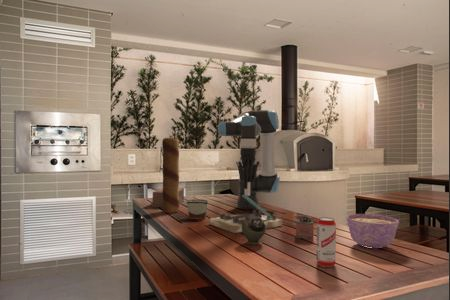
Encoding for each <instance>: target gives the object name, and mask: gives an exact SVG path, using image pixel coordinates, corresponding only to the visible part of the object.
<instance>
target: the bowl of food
mask: <svg viewBox="0 0 450 300" xmlns="http://www.w3.org/2000/svg"><path fill="white" fill-rule="evenodd" d="M346 221H347V226H348V231H349V235H350V237H351V239H352V241H354V242H355V243H357V244H358V245H360V246H361V245H363V246H367V247H372V248H380V247H382V248H386V247H388V246H390V245H391V244H392V243H393V241H394V239H395V237H396V233H397V230H398V226H399V223H400V221H399V220H398V219H397V218H394V217H391V216H387V215H380V214H369V213H362V214H361V213H356V214H355V213H354V214H349V215H347V216H346Z"/></svg>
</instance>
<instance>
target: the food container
mask: <svg viewBox="0 0 450 300" xmlns="http://www.w3.org/2000/svg"><path fill="white" fill-rule="evenodd" d="M186 205H187V213H188V219H197V220H198V219H199V220H206V218H207V210H208V209H207V208H208V205H209V202H208V200H207V199H203V198H201V199H200V198H199V199H198V198H196V199H193V198H192V199H187V201H186Z"/></svg>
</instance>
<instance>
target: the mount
mask: <svg viewBox="0 0 450 300" xmlns="http://www.w3.org/2000/svg"><path fill="white" fill-rule="evenodd" d="M252 213H258V214H260V215H261V219H262V220H263V221H264V223H265V226H266V229H272V228H279V227H283V219H279V218H277V215H276V214H272V217H273V219H271V218H269V217H267V216H266V215H265V214H264V215H263V214H262V212H261V211H260V210H258V211H257V209H252ZM268 213H269V212H268ZM269 214H270V215H271V213H269ZM231 215H232V214H226V213H220V214H219V217H210V219H209V225H211V226H215V227H217V228H219V229H222V230H225V231H228V232H231V233H233V234H236V233H237V234H238V233H243V232H242V222H243V220H244V219H245V217H237V218H230V216H231ZM222 216H225V219H224V218H222ZM256 216H258V215H256ZM278 226H279V227H278Z"/></svg>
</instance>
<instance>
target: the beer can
mask: <svg viewBox="0 0 450 300" xmlns="http://www.w3.org/2000/svg"><path fill="white" fill-rule="evenodd" d="M316 225H317V226H316V256H315V257H316V260H315V261H316V264H317V265H318V266H319V265H320V266H319V267H321V266H324V267H323V268H325V267H331V268H333V267H334V266H336V251H337V250H336V245H337V244H336V243H337V241H336V240H337V239H336V237H337V233H336V232H337V223H336V222H335V218H332V217H325V216H324V217H321V216H320V217H319V218H318V221H317V223H316ZM332 266H333V267H332Z"/></svg>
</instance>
